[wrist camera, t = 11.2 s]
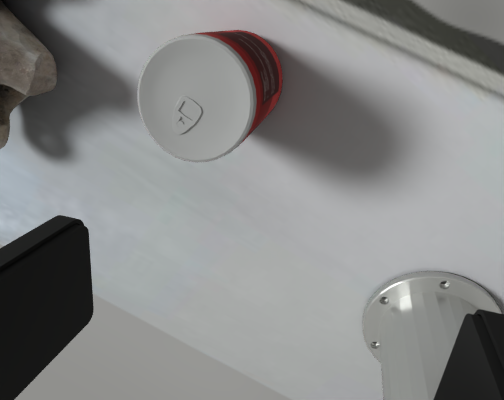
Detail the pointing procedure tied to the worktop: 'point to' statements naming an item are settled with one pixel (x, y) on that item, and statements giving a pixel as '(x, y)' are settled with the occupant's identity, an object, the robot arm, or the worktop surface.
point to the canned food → (208, 92)
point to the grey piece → (21, 68)
